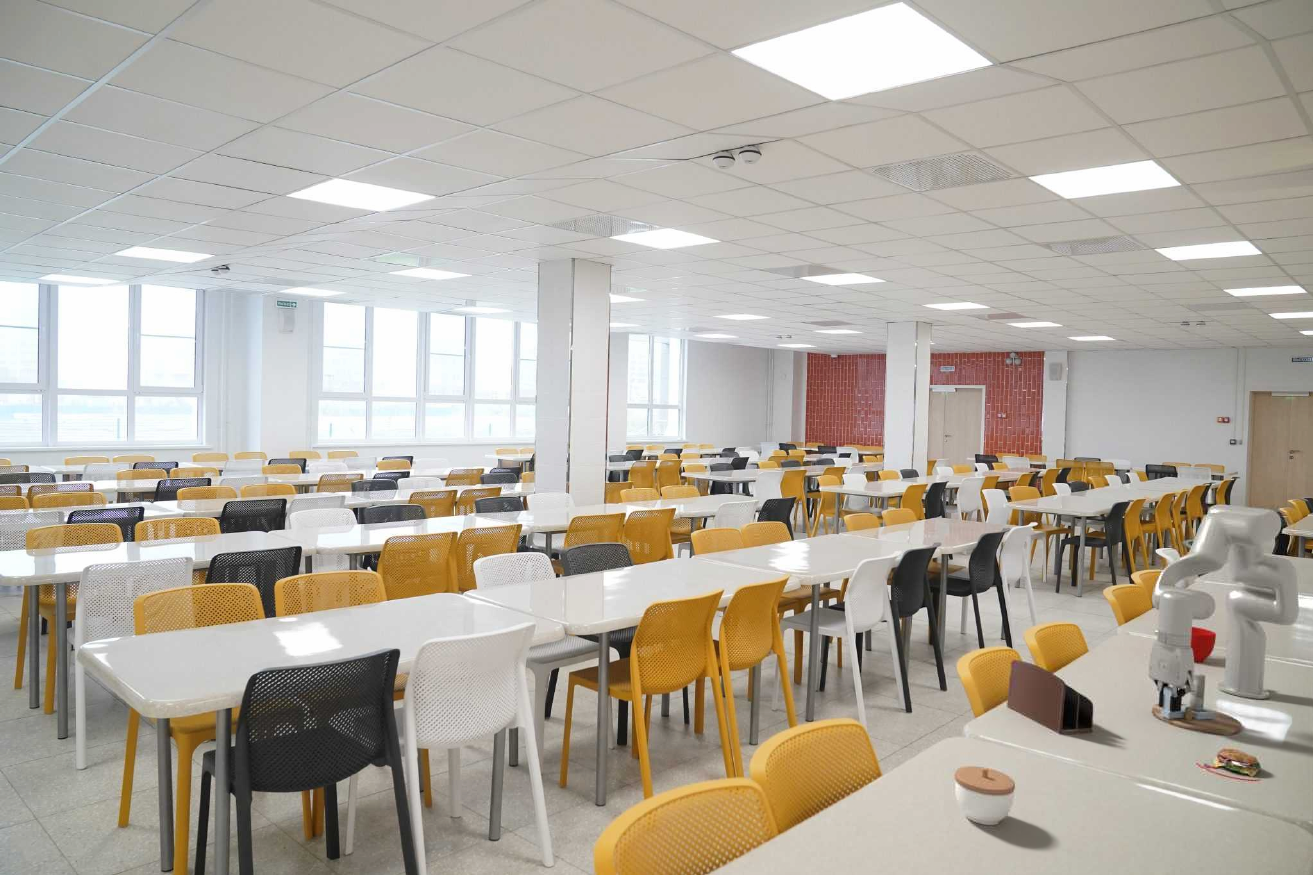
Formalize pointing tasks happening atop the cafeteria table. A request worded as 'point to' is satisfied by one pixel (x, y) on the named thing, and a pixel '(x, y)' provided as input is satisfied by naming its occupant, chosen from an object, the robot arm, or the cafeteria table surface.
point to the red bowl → (1202, 643)
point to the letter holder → (1048, 700)
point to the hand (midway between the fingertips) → (1169, 708)
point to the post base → (1204, 724)
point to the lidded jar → (984, 794)
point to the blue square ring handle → (1181, 714)
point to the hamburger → (1235, 763)
